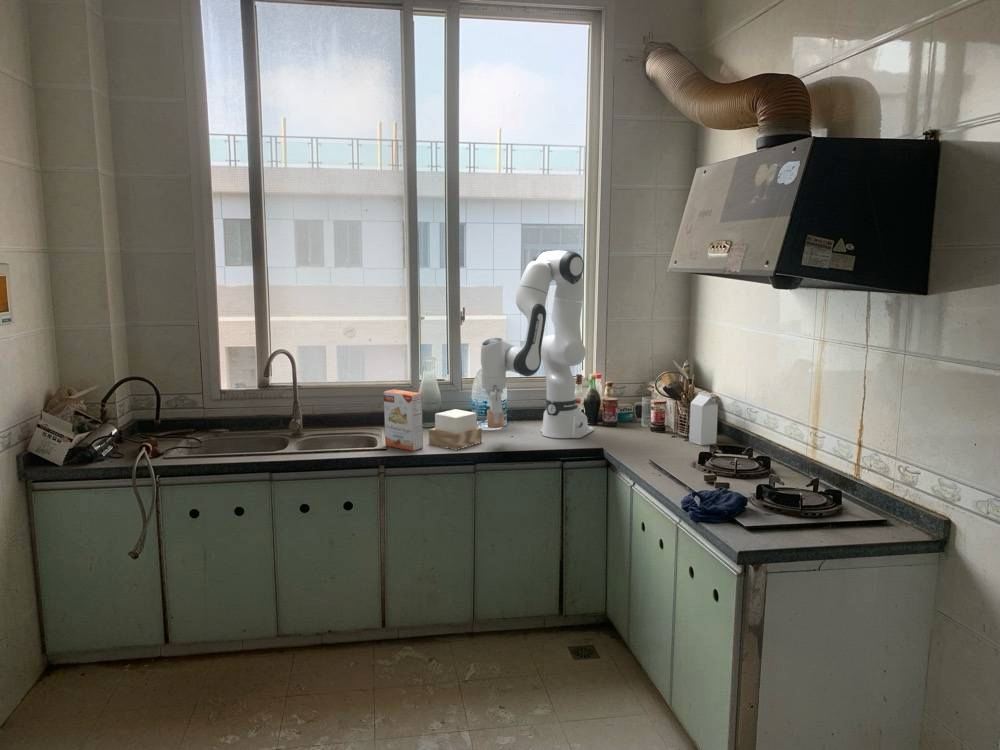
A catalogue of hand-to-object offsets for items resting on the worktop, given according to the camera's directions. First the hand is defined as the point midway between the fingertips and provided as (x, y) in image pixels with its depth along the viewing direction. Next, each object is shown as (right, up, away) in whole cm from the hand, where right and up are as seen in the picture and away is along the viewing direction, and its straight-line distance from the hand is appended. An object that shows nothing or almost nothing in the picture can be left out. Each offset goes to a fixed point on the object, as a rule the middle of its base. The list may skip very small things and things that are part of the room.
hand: (495, 420), depth 271 cm
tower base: (-15, -10, +8) cm, 20 cm away
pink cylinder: (0, -2, 0) cm, 2 cm away
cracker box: (-34, -10, +3) cm, 35 cm away
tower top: (-15, -4, +7) cm, 17 cm away
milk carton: (+78, -9, +7) cm, 79 cm away
